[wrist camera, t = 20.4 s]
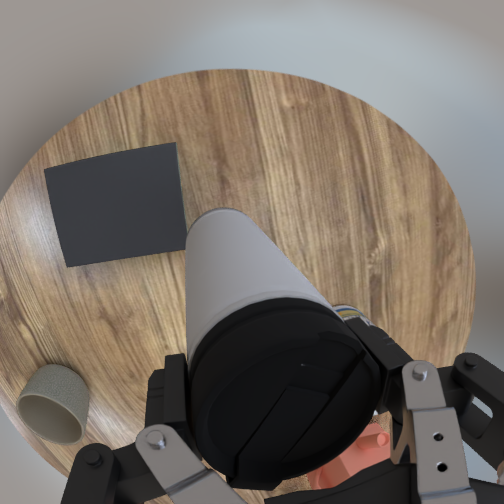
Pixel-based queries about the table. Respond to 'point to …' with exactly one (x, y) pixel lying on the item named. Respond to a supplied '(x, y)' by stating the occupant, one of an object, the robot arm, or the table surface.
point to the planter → (55, 405)
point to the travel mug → (267, 359)
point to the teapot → (353, 458)
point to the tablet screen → (118, 205)
